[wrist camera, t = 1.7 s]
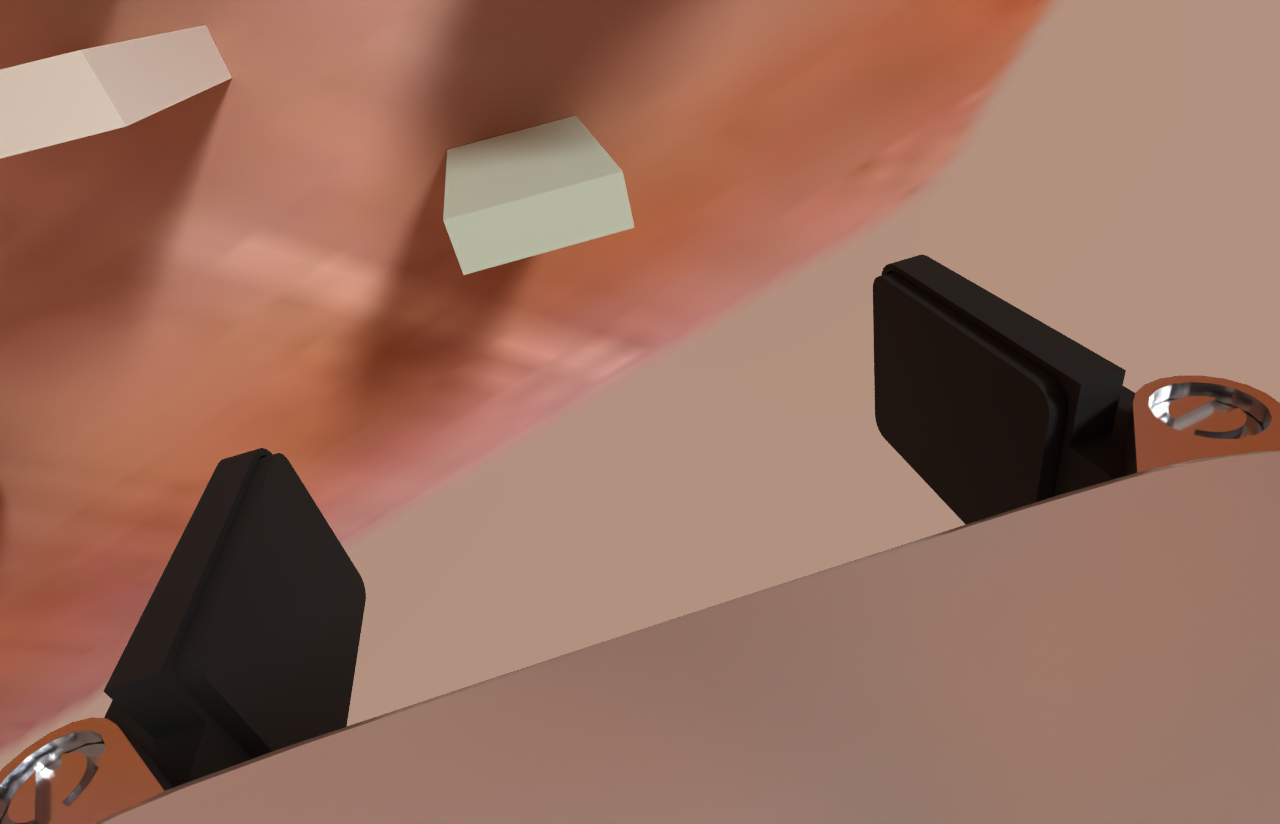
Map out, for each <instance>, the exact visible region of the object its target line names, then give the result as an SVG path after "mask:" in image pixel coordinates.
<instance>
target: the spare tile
mask: <svg viewBox="0 0 1280 824" xmlns="http://www.w3.org/2000/svg"><path fill="white" fill-rule="evenodd" d="M443 221H444V224H445V227H446V229H447V232H448V235H449V237H450V240H451V243H452V245H453V248H454V251H455V253H456V256H457V259H458V261H459V264H460V267H461V269H462V272H463V275H466V274H470V273H473V272H477V271H481V270H484V269H488V268H491V267H495V266H498V265H502V264H506V263H509V262H513V261H516V260H520V259H523V258H527V257H531V256H534V255H538V254H541V253H545V252H549V251H552V250H556V249H559V248H563V247H566V246H570V245H574V244H577V243H581V242H584V241H588V240H591V239H595V238H599V237H602V236H606V235H609V234H613V233H617V232H620V231H624V230H627V229H631V228H634V223H633V218H632V213H631V209H630V204H629V199H628V195H627V190H626V185H625V181H624V176H623V171H622V170H621V169H620V168H619V167H618V165H617V164H616V163H615V162H614V161H613V159H612V158H611V157H610V156H609V155H608V153H607V152H606V151H605V150H604V149H603V147H602V146H601V145H600V144H599V143H598V141H597V140H596V139H595V138H594V137H593V135H592V134H591V133H590V132H589V131H588V129H587V128H586V127H585V126H584V125H583V123H582V122H581V121H580V120H579V119H578V117H577V116H572V117H568V118H564V119H561V120H557V121H553V122H549V123H546V124H542V125H538V126H534V127H531V128H527V129H523V130H519V131H516V132H512V133H508V134H504V135H500V136H497V137H493V138H489V139H485V140H482V141H478V142H474V143H470V144H467V145H463V146H459V147H455V148H452V149H448V150H447V162H446V180H445V197H444V214H443Z"/></svg>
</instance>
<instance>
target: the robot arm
mask: <svg viewBox="0 0 1280 824" xmlns="http://www.w3.org/2000/svg"><path fill="white" fill-rule="evenodd" d="M873 315H874V316H873V317H874V375H875V417H876V422H877V426H878V428H879V431H880V432H881V434H882V436H883V437H884V438H885V439H886V440H887V441H888V443H890V445H891V446H892V447H893V448H894V449H895V450H896V451H897V452H898V453H899V454H900V455H901V456H902V457H903V458H904V459H905V460H906V462H907V463H908V464H909V465H910V466H911V467H912V468H913V469H914V470H915V471H916V472H917V473H918V474H919V475H920V476H921V478H922V479H923V480H924V481H925V482H926V483H927V484H928V485H929V486H930V487H931V488H932V489H933V490H934V491H935V492H936V493H937V494H938V495H939V497H940V498H941V499H942V500H943V501H944V502H945V503H946V504H947V505H948V506H949V507H950V508H951V509H952V510H953V511H954V512H955V514H956V515H957V516H958V517H959V518H960V519H961V520H962V521H963V522H964V523H965V524H966V525H964V526H961V527H958V528H954V529H951V530H948V531H945V532H942V533H939V534H936V535H933V536H930V537H926V538H923V539H920V540H917V541H914V542H911V543H907V544H904V545H901V546H898V547H895V548H892V549H889V550H886V551H883V552H879V553H876V554H873V555H870V556H867V557H864V558H861V559H857V560H854V561H851V562H848V563H845V564H842V565H839V566H836V567H833V568H829V569H827V570H823V571H820V572H817V573H814V574H811V575H808V576H804V577H802V578H799V579H795V580H792V581H789V582H786V583H783V584H780V585H777V586H774V587H770V588H767V589H764V590H761V591H758V592H755V593H752V594H749V595H746V596H743V597H740V598H737V599H734V600H730V601H727V602H725V603H722V604H718V605H715V606H712V607H709V608H706V609H703V610H700V611H697V612H694V613H690V614H687V615H684V616H682V617H678V618H675V619H672V620H669V621H666V622H663V623H660V624H657V625H654V626H651V627H648V628H645V629H641V630H639V631H636V632H632V633H629V634H626V635H623V636H620V637H617V638H614V639H611V640H608V641H605V642H602V643H599V644H595V645H592V646H589V647H586V648H583V649H580V650H577V651H574V652H571V653H568V654H565V655H562V656H559V657H556V658H553V659H550V660H547V661H544V662H541V663H538V664H535V665H532V666H529V667H526V668H523V669H520V670H517V671H513V672H510V673H507V674H504V675H501V676H498V677H495V678H492V679H489V680H486V681H483V682H480V683H478V684H474V685H471V686H468V687H465V688H462V689H459V690H456V691H453V692H450V693H447V694H444V695H441V696H438V697H435V698H432V699H429V700H426V701H423V702H420V703H417V704H414V705H411V706H408V707H405V708H402V709H399V710H396V711H393V712H390V713H387V714H384V715H381V716H378V717H375V718H372V719H369V720H366V721H363V722H360V723H357V724H354V725H351V726H347V727H346V725H347V718H348V712H349V705H350V698H351V692H352V686H353V679H354V673H355V666H356V659H357V653H358V646H359V639H360V633H361V626H362V620H363V613H364V607H365V599H366V595H365V588H364V583H363V580H362V578H361V576H360V574H359V573H358V571H357V569H356V568H355V566H354V565H353V563H352V561H351V560H350V558H349V556H348V555H347V553H346V552H345V550H344V548H343V547H342V545H341V544H340V542H339V540H338V539H337V537H336V536H335V534H334V532H333V531H332V529H331V528H330V526H329V524H328V523H327V521H326V520H325V518H324V516H323V515H322V513H321V512H320V510H319V508H318V507H317V505H316V504H315V502H314V500H313V499H312V497H311V496H310V494H309V492H308V491H307V489H306V488H305V486H304V484H303V483H302V481H301V480H300V478H299V476H298V475H297V473H296V472H295V470H294V468H293V467H292V465H291V464H290V462H289V461H288V459H287V458H286V457H285V456H284V455H283V454H280V453H277V454H274V455H273V454H272V453H271V452H269V451H268V450H267V449H264V448H260V449H257V450H253V451H250V452H246V453H243V454H240V455H236V456H233V457H229V458H226V459H223V460H221V461H220V462H219V463H218V465H217V467H216V469H215V471H214V473H213V475H212V477H211V479H210V481H209V483H208V485H207V487H206V489H205V491H204V493H203V495H202V497H201V499H200V501H199V503H198V505H197V507H196V509H195V511H194V513H193V515H192V517H191V519H190V521H189V523H188V525H187V527H186V529H185V531H184V533H183V535H182V537H181V539H180V541H179V543H178V545H177V547H176V548H175V550H174V552H173V554H172V556H171V558H170V560H169V562H168V564H167V566H166V568H165V570H164V572H163V574H162V576H161V578H160V580H159V582H158V584H157V586H156V588H155V590H154V592H153V594H152V596H151V598H150V600H149V602H148V604H147V606H146V608H145V610H144V612H143V614H142V616H141V618H140V620H139V622H138V624H137V626H136V628H135V630H134V632H133V634H132V636H131V638H130V640H129V642H128V644H127V646H126V648H125V650H124V652H123V654H122V656H121V658H120V660H119V662H118V664H117V666H116V668H115V670H114V672H113V674H112V676H111V678H110V680H109V682H108V684H107V686H106V688H105V690H104V692H105V693H106V694H107V695H108V696H109V697H110V698H111V699H112V700H113V701H112V703H111V705H110V707H109V709H108V711H107V713H106V715H105V718H88V719H85V720H80V721H76V722H72V723H70V724H68V725H66V726H64V727H62V728H59V729H57V730H55V731H53V732H51V733H49V734H47V735H46V736H44V737H43V738H41V739H40V740H38V741H37V742H35V743H34V744H32V745H31V746H29V747H28V748H26V749H25V750H24V751H23V752H21V753H20V754H19V755H18V756H17V757H16V758H14V759H13V760H12V761H11V762H10V763H9V764H7V765H6V766H5V767H4V768H3V769H2V770H1V771H0V824H1280V403H1279V402H1277V401H1276V400H1275V399H1273V398H1272V397H1271V396H1269V395H1268V394H1266V393H1264V392H1262V391H1260V390H1257V389H1255V388H1253V387H1251V386H1248V385H1246V384H1241V383H1238V382H1234V381H1231V380H1227V379H1222V378H1215V377H1207V376H1174V377H1169V378H1162V379H1158V380H1155V381H1153V382H1150V383H1148V384H1145V385H1144V386H1143V387H1142V388H1140V389H1139V390H1138V391H1137V392H1136V393H1134V392H1132V391H1131V390H1129V389H1127V388H1126V387H1124V386H1122V385H1123V380H1124V375H1125V370H1124V369H1122V368H1120V367H1119V366H1117V365H1115V364H1113V363H1112V362H1110V361H1108V360H1106V359H1105V358H1103V357H1101V356H1099V355H1098V354H1096V353H1094V352H1093V351H1090V350H1089V349H1087V348H1086V347H1084V346H1082V345H1080V344H1079V343H1077V342H1075V341H1073V340H1071V339H1070V338H1068V337H1066V336H1065V335H1063V334H1061V333H1059V332H1058V331H1056V330H1054V329H1052V328H1050V327H1049V326H1047V325H1045V324H1044V323H1042V322H1040V321H1039V320H1037V319H1035V318H1033V317H1032V316H1030V315H1028V314H1027V313H1025V312H1023V311H1021V310H1020V309H1018V308H1016V307H1014V306H1013V305H1011V304H1009V303H1007V302H1005V301H1004V300H1002V299H1001V298H999V297H997V296H995V295H993V294H992V293H990V292H988V291H987V290H985V289H983V288H981V287H980V286H978V285H976V284H974V283H973V282H971V281H969V280H967V279H966V278H964V277H962V276H961V275H959V274H957V273H955V272H954V271H952V270H950V269H948V268H947V267H945V266H943V265H941V264H940V263H938V262H936V261H934V260H933V259H931V258H929V257H927V256H925V255H919V256H916V257H912V258H909V259H905V260H902V261H899V262H895V263H891V264H888V265H886V266H885V267H884V268H883V271H882V276H879V277H877V278H876V279H875V280H874V284H873Z"/></svg>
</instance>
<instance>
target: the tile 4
mask: <svg viewBox="0 0 1280 824" xmlns="http://www.w3.org/2000/svg"><path fill="white" fill-rule="evenodd" d="M231 78H232V77H231V75H230V73H229V71H228V69H227V67H226V65H225V63H224V61H223V59H222V57H221V55H220V53H219V51H218V49H217V47H216V45H215V42H214V40H213V38H212V36H211V34H210V32H209V30H208V28H207V26H206V25H202V26H197V27H192V28H187V29H182V30H177V31H172V32H167V33H162V34H157V35H152V36H147V37H142V38H137V39H132V40H127V41H122V42H117V43H112V44H107V45H102V46H97V47H92V48H87V49H82V50H78V51H74V52H70V53H66V54H62V55H57V56H53V57H49V58H45V59H41V60H37V61H33V62H29V63H25V64H21V65H17V66H13V67H9V68H5V69H1V70H0V159H1V158H5V157H8V156H12V155H16V154H20V153H24V152H28V151H32V150H36V149H40V148H44V147H48V146H52V145H56V144H59V143H63V142H67V141H71V140H75V139H79V138H83V137H87V136H91V135H95V134H99V133H103V132H107V131H111V130H114V129H118V128H122V127H126V126H128V125H131V124H133V123H135V122H137V121H139V120H141V119H144V118H146V117H148V116H150V115H152V114H155V113H157V112H159V111H161V110H163V109H165V108H168V107H170V106H172V105H174V104H176V103H179V102H181V101H183V100H185V99H187V98H189V97H192V96H194V95H196V94H198V93H200V92H203V91H205V90H207V89H209V88H211V87H213V86H216V85H218V84H220V83H222V82H224V81H227V80H229V79H231Z"/></svg>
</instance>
